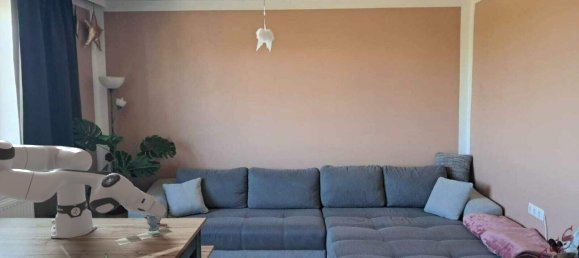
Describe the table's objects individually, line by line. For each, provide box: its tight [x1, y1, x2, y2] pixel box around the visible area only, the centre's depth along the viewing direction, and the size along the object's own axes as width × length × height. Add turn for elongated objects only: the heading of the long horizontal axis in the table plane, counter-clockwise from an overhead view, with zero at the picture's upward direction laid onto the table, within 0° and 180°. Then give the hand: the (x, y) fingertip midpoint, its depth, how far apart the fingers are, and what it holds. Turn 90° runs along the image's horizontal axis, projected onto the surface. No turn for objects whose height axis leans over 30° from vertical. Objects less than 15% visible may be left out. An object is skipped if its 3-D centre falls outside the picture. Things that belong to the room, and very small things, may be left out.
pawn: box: [147, 215, 160, 232], centre depth 179 cm, size 4×4×11 cm
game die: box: [144, 215, 162, 225], centre depth 194 cm, size 9×8×10 cm
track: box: [114, 227, 173, 246], centre depth 178 cm, size 7×22×1 cm, turn 130°
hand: (154, 216), depth 180 cm, fingers closed on pawn, 3 cm apart
